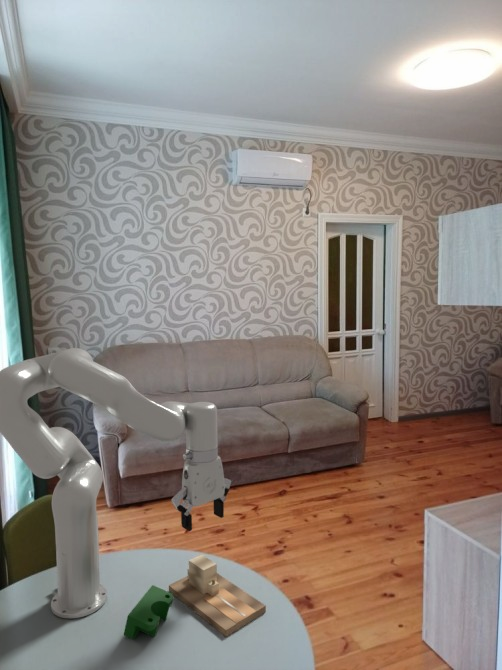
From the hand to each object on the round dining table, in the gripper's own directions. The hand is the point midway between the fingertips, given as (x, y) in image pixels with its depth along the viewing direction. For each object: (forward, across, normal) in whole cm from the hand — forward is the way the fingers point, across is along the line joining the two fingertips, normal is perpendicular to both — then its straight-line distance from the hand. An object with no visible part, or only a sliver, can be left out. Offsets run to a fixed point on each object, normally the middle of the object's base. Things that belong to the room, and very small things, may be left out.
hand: (203, 522), depth 118 cm
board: (+18, 0, -5) cm, 19 cm away
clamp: (+18, -16, -2) cm, 24 cm away
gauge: (+16, 0, 0) cm, 16 cm away
